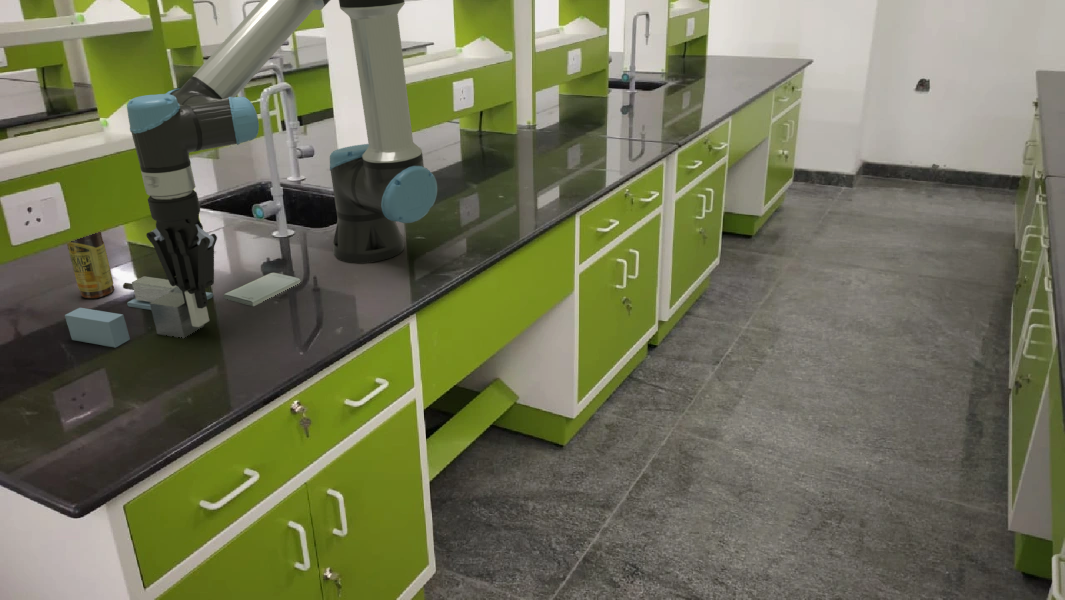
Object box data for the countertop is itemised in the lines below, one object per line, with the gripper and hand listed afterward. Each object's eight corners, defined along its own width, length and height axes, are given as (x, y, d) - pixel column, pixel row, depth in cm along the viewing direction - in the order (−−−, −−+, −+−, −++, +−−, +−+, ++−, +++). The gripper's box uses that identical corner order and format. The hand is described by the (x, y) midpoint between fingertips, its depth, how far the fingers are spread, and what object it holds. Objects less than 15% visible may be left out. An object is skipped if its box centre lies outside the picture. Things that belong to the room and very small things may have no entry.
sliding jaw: (189, 299, 153) (185, 282, 152) (176, 306, 150) (171, 289, 149) (133, 291, 158) (129, 274, 156) (120, 298, 155) (115, 280, 153)
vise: (213, 296, 157) (208, 273, 155) (122, 348, 138) (115, 323, 136) (161, 289, 161) (155, 266, 160) (65, 338, 142) (58, 314, 140)
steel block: (204, 326, 145) (197, 295, 143) (184, 338, 141) (177, 307, 138) (177, 322, 147) (170, 291, 145) (157, 334, 143) (149, 303, 140)
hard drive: (252, 301, 152) (300, 277, 162) (222, 293, 156) (271, 271, 165) (254, 309, 153) (301, 285, 162) (224, 301, 156) (272, 278, 166)
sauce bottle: (73, 297, 159) (45, 200, 151) (100, 285, 164) (74, 191, 156) (97, 302, 157) (69, 203, 148) (123, 290, 162) (98, 194, 153)
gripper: (123, 196, 131) (155, 328, 140) (187, 202, 127) (216, 337, 136) (157, 184, 137) (186, 310, 147) (219, 189, 133) (245, 318, 143)
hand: (200, 323), depth 141 cm, fingers closed
